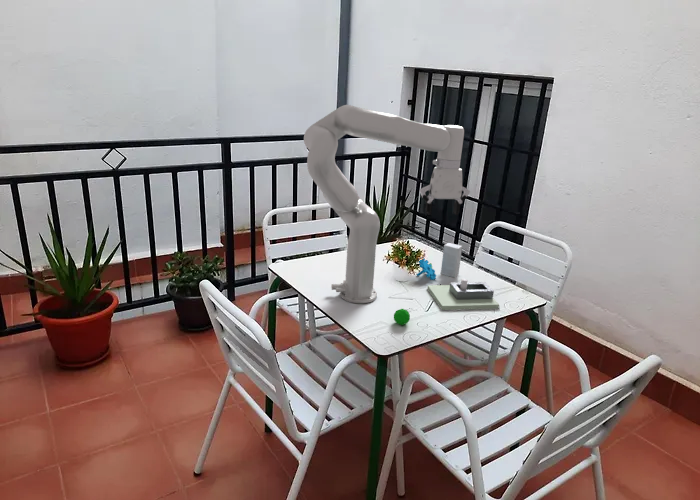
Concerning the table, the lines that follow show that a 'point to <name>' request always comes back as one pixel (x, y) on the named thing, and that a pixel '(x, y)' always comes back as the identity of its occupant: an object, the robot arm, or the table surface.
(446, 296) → the keeper board
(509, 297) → the table surface
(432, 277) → the blue lumpy piece
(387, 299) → the table surface
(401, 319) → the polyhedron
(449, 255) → the skincare box
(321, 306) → the table surface
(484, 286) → the grey hollow rectangular box
